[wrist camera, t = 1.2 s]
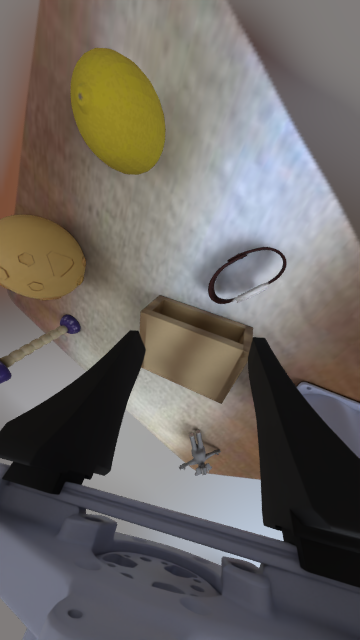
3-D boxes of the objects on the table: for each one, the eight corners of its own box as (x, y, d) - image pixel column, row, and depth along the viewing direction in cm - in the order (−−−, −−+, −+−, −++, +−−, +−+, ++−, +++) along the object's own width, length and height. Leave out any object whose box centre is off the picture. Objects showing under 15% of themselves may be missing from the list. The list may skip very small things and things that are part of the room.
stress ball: (42, 250, 28) (-43, 266, 20) (54, 195, 22) (-60, 186, 14) (89, 296, 29) (27, 327, 21) (112, 255, 23) (38, 277, 16)
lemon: (124, 172, 18) (50, 151, 11) (127, 88, 14) (25, -7, 8) (172, 187, 17) (121, 174, 11) (187, 101, 14) (125, 7, 7)
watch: (223, 305, 21) (218, 320, 18) (203, 273, 20) (194, 284, 17) (292, 273, 17) (299, 286, 14) (271, 230, 16) (274, 234, 13)
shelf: (253, 327, 21) (252, 354, 17) (226, 375, 27) (221, 404, 23) (159, 294, 24) (140, 311, 20) (153, 345, 30) (138, 366, 26)
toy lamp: (59, 310, 35) (-61, 371, 22) (76, 313, 33) (-43, 380, 20) (69, 330, 37) (-34, 395, 24) (85, 333, 36) (-16, 405, 22)
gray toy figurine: (221, 432, 36) (228, 471, 37) (209, 416, 42) (216, 449, 43) (176, 451, 34) (185, 491, 35) (170, 431, 40) (178, 466, 41)
